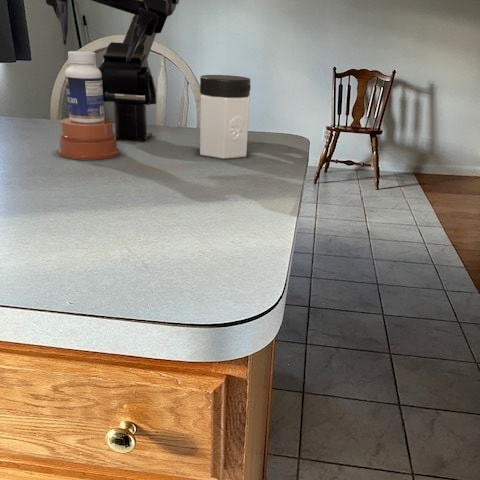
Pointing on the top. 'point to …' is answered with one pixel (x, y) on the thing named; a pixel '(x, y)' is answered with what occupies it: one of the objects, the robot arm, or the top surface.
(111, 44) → the robot arm
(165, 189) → the top surface
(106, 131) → the cup stack
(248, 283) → the top surface
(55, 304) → the top surface
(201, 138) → the jar
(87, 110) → the pill bottle
